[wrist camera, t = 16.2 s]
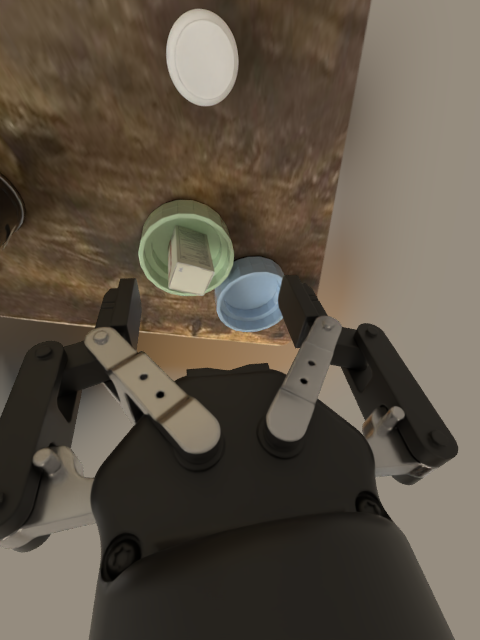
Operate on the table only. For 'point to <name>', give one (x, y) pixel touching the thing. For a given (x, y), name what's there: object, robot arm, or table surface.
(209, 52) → the pill bottle
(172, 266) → the skincare product carton
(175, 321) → the table surface
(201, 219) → the bowl left
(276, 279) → the bowl right
